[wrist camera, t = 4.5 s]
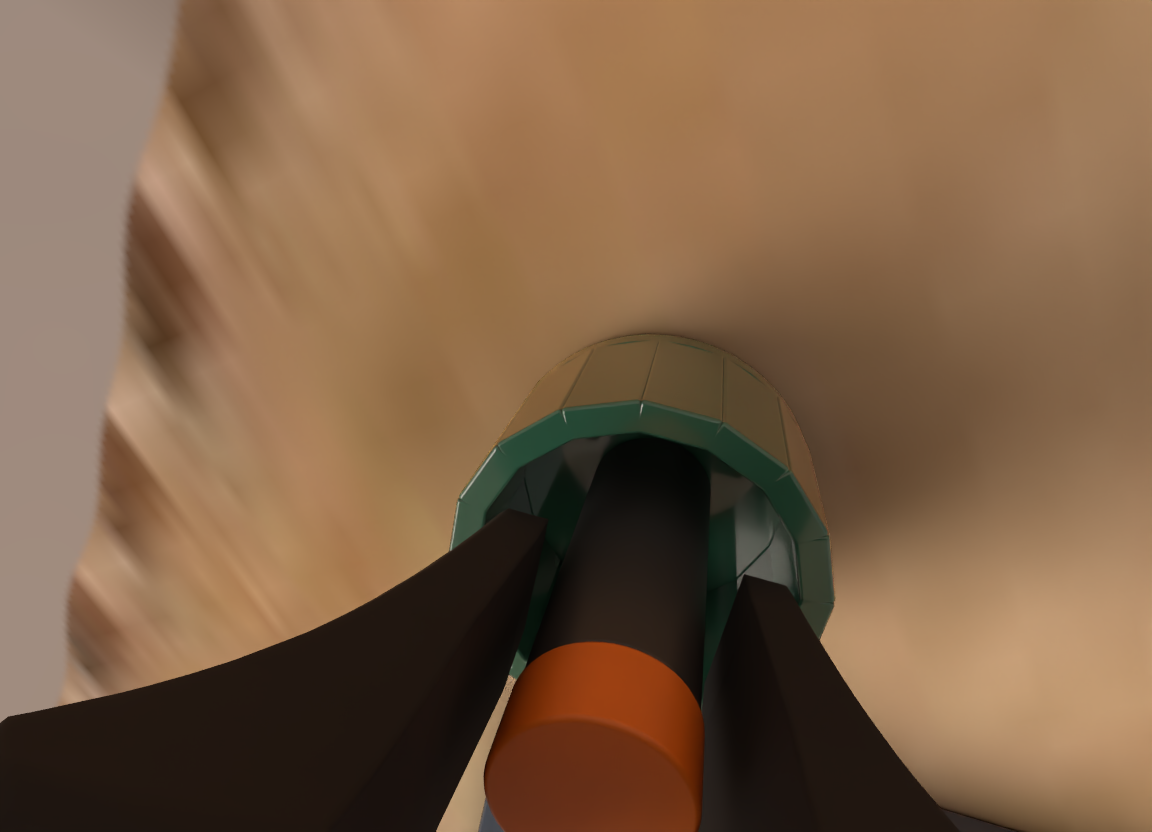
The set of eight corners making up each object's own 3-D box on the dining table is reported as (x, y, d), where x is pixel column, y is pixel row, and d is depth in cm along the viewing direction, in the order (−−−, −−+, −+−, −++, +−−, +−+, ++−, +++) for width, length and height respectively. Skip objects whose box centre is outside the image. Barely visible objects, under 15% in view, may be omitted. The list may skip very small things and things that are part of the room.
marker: (728, 452, 14) (729, 759, 7) (694, 556, 15) (669, 909, 8) (605, 419, 14) (500, 689, 7) (579, 524, 15) (467, 843, 8)
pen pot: (855, 379, 13) (895, 466, 10) (756, 635, 16) (763, 772, 12) (536, 298, 14) (479, 357, 10) (488, 558, 16) (428, 671, 13)
